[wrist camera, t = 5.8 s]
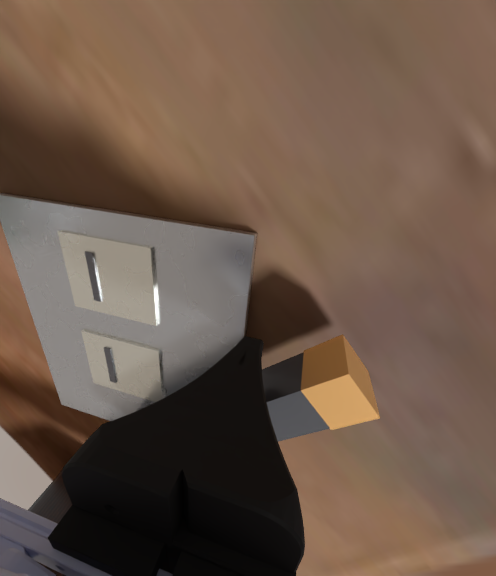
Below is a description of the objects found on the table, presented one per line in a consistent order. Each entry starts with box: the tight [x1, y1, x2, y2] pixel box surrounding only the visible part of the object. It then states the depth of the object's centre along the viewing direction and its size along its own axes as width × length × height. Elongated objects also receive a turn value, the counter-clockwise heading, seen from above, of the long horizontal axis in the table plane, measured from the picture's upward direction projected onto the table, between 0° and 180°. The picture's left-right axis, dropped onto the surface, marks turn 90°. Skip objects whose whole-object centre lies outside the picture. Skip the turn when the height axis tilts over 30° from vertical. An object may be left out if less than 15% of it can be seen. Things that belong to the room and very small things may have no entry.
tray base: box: [0, 193, 257, 421], centre depth 16 cm, size 18×16×5 cm
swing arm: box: [262, 335, 380, 441], centre depth 14 cm, size 16×2×2 cm, turn 127°
